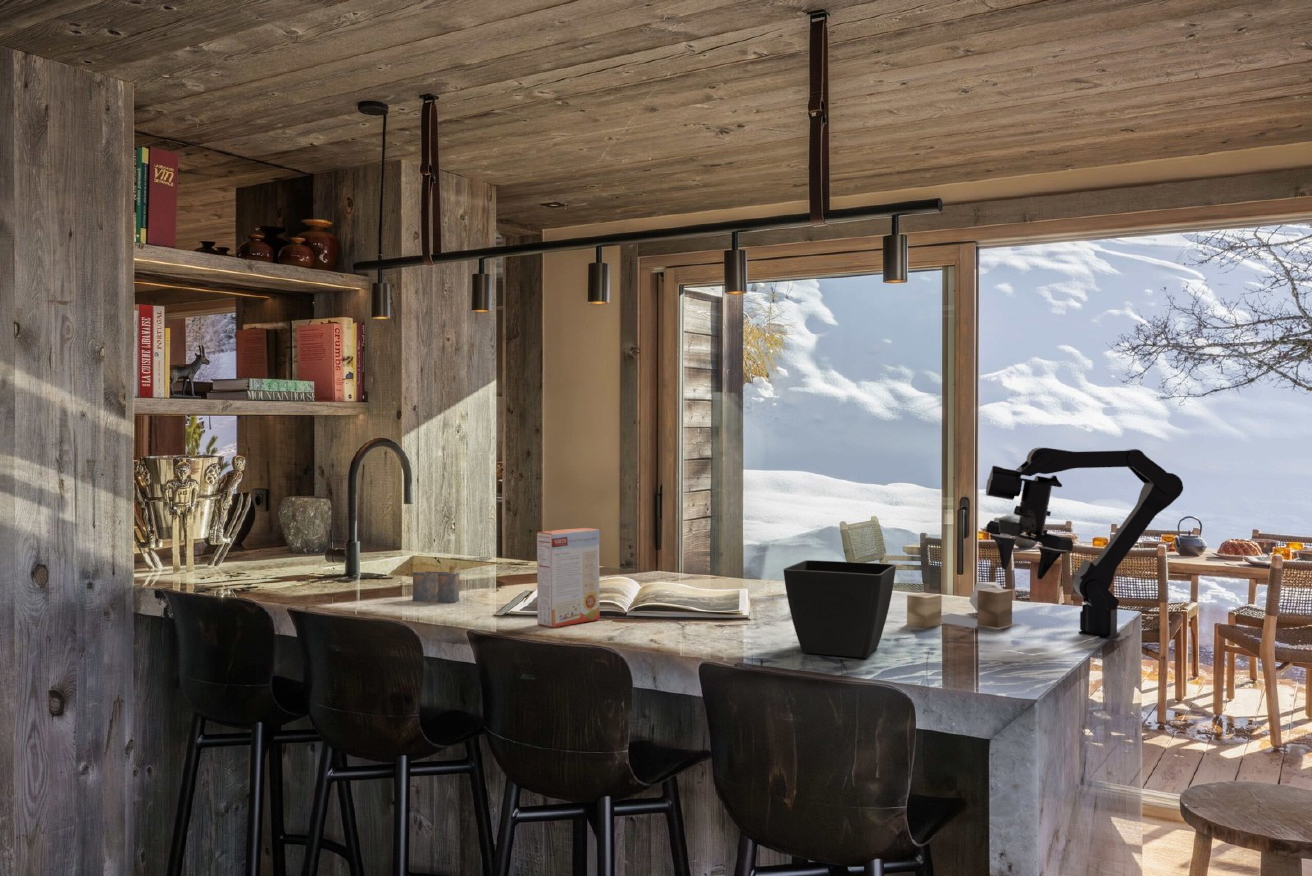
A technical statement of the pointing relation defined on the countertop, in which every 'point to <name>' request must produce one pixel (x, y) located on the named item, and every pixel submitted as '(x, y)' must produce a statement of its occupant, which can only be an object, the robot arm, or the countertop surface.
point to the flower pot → (839, 605)
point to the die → (980, 586)
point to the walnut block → (994, 608)
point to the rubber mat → (966, 622)
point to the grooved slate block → (436, 586)
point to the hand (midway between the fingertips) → (1021, 574)
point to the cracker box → (567, 576)
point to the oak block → (924, 609)
